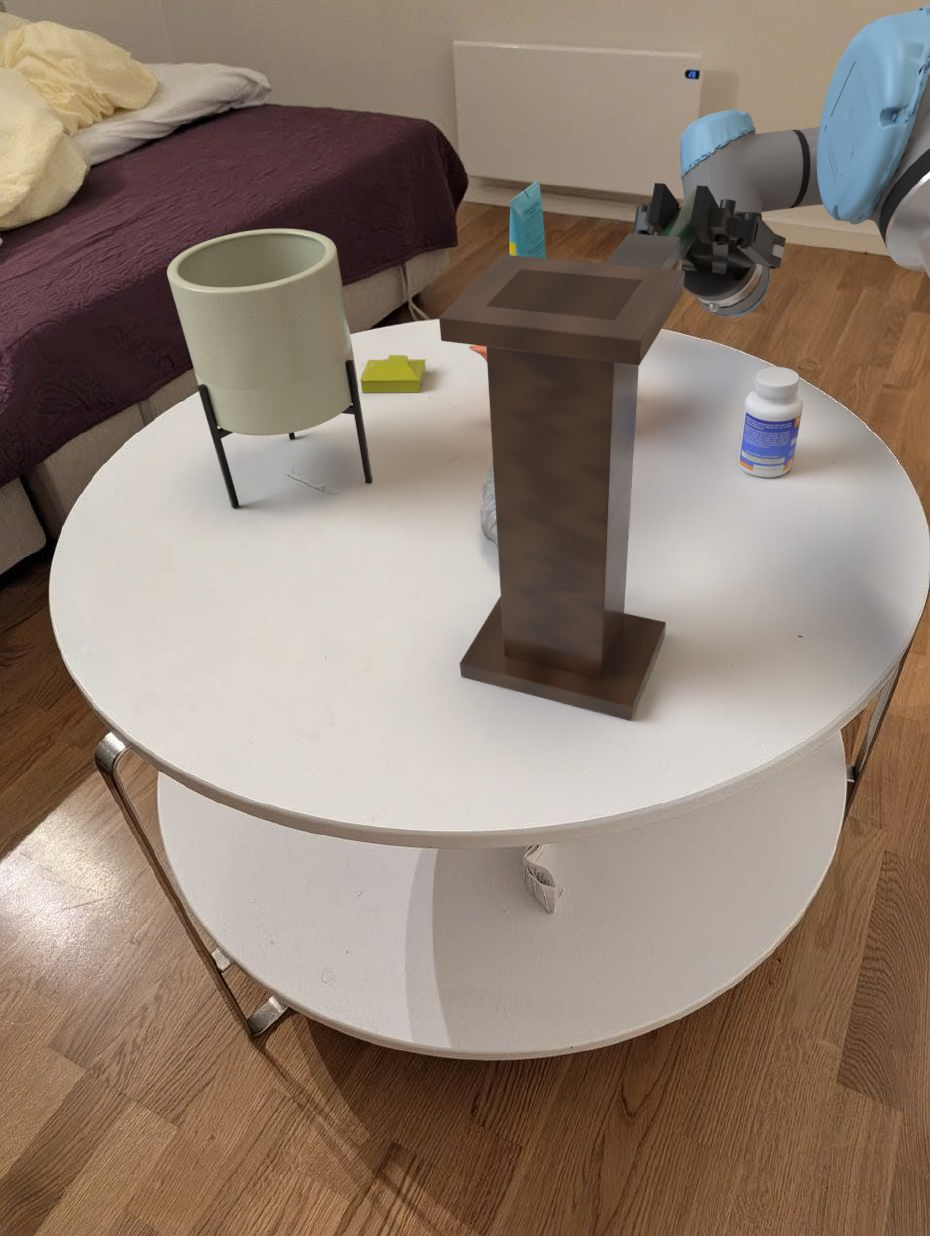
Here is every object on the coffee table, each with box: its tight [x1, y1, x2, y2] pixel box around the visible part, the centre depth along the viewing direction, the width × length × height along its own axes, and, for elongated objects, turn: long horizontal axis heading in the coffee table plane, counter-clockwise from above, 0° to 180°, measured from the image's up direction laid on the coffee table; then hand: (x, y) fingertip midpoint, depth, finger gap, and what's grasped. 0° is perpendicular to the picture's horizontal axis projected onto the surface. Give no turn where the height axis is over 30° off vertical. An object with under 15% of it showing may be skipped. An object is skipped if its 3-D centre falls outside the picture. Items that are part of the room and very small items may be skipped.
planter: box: [166, 228, 374, 509], centre depth 90 cm, size 15×16×23 cm
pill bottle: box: [737, 366, 804, 478], centre depth 90 cm, size 5×5×10 cm
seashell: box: [480, 460, 498, 549], centre depth 86 cm, size 6×14×8 cm, turn 177°
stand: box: [438, 254, 685, 721], centre depth 65 cm, size 14×10×30 cm
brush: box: [605, 189, 715, 270], centre depth 67 cm, size 21×4×4 cm, turn 157°
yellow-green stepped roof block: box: [359, 354, 438, 399], centre depth 112 cm, size 10×9×3 cm
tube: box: [508, 180, 547, 259], centre depth 110 cm, size 7×5×19 cm, turn 158°
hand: (677, 204), depth 67 cm, fingers closed on brush, 2 cm apart
